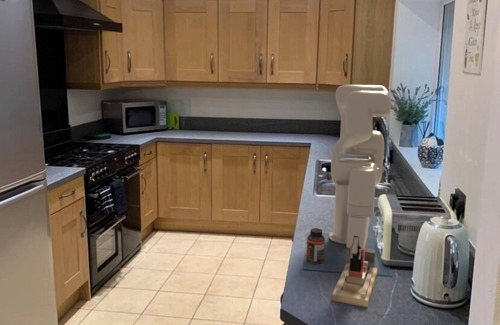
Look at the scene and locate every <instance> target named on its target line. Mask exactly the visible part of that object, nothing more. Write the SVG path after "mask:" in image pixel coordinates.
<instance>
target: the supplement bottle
mask: <svg viewBox="0 0 500 325" xmlns="http://www.w3.org/2000/svg"><path fill="white" fill-rule="evenodd" d="M309 233H310V234H308V235H307V239H306V240H307V241H306V255H305V256H306V257H305V258H306V259H305V260H306V262H308V263H309V264H311V265H320V264H323V262H324V260H325V247H326V246H325V242H326V238H325V236H324V235H323V229H321V228H318V227H315V228H314V227H313V228H310V232H309Z"/></svg>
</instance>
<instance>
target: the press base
mask: <svg viewBox="0 0 500 325" xmlns="http://www.w3.org/2000/svg"><path fill="white" fill-rule="evenodd" d="M376 251H377V250H376V249H372V248H366V247H365V260H364V261H368V267H367V276H366V279H365V282H364V285H362V284H356V283H350V282H347V274H348V272H349V261H350V248H349V250H348V261H347V262H346V263H345V265H344V268H343V270H342V272H341V274H340V276H339V278H338V281H337V283H336V284H335V287H334V289H333V292H332V295H331V296H332V297H331V301H332V302H337V303H343V304H348V305H353V306H359V307H365V308H368V307H369V303H370V299H371V296H372V293H373V290H374V286H375V282H376V279H377V277H378V276H377V275H378V267H376V266H375V264H376Z"/></svg>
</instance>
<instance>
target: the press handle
mask: <svg viewBox="0 0 500 325" xmlns="http://www.w3.org/2000/svg"><path fill="white" fill-rule="evenodd" d="M366 244H367V243H366ZM366 244H365V247H364V249H363V250H361V259H362V262H361V272H355V271H350V261H349V272H348V274H347V282H350V283H356V284H362V285H364V282H365V279H366V276H367V267H368V261H364V260H365V248H366ZM358 248H360V247H358ZM349 249H350V258H351V250H352V245H351V247H350V248H349ZM357 252H358V253H359V251H357Z"/></svg>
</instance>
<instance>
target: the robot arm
mask: <svg viewBox="0 0 500 325" xmlns="http://www.w3.org/2000/svg"><path fill="white" fill-rule="evenodd" d="M335 102H336V105H337V108H338V111H339V114H340V134H339V135H340V136H339V139H337V141H336V142H335V144H334V145H333V148H332V151H331V158H330V177H331V181H332V182H333V183H334V185H335V196H334V198H335V199H334V213H333V214H334V215H333V216H334V217H333V231H331V232H330V233H329V234H328V235H329V236H328V238H329V240H330V241H332V242H334V243H336V244H341V245H346V248H347V249H350V247H351V245H352V250H351V258H350V271H355V272H361V262H362V259H361V250H363V249H364V247H365V248H366V246H365V244H367V241H368V236H369V235H368V234H369V223H370V218H371V217H374V213H375V210H374V208H375V197H376V196H375V194H376V185H378V184H380V183H381V181H382V177H383V170H384V169H383V168H384V167H383V166H384V156H385V139H384V135H383V134H382V132H381V131H378V130H374V128H373V127H374V126H373V117H374V118H386V117H388V116H389V115H390V114H391V111H392V99H391V94H390V93H389V91H388V89H387V88H386V87H385V86H383V85H380V84H379V85H377V84H376V85H375V84H343V85H340V86H338V87H337V88H336V90H335ZM342 154H343V155H345V156H355V157H368V158H354V157H353V158H352V157H345V158H341V155H342ZM369 158H370V159H369ZM358 247H360V248H358ZM357 251H359V253H358V252H357Z"/></svg>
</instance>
